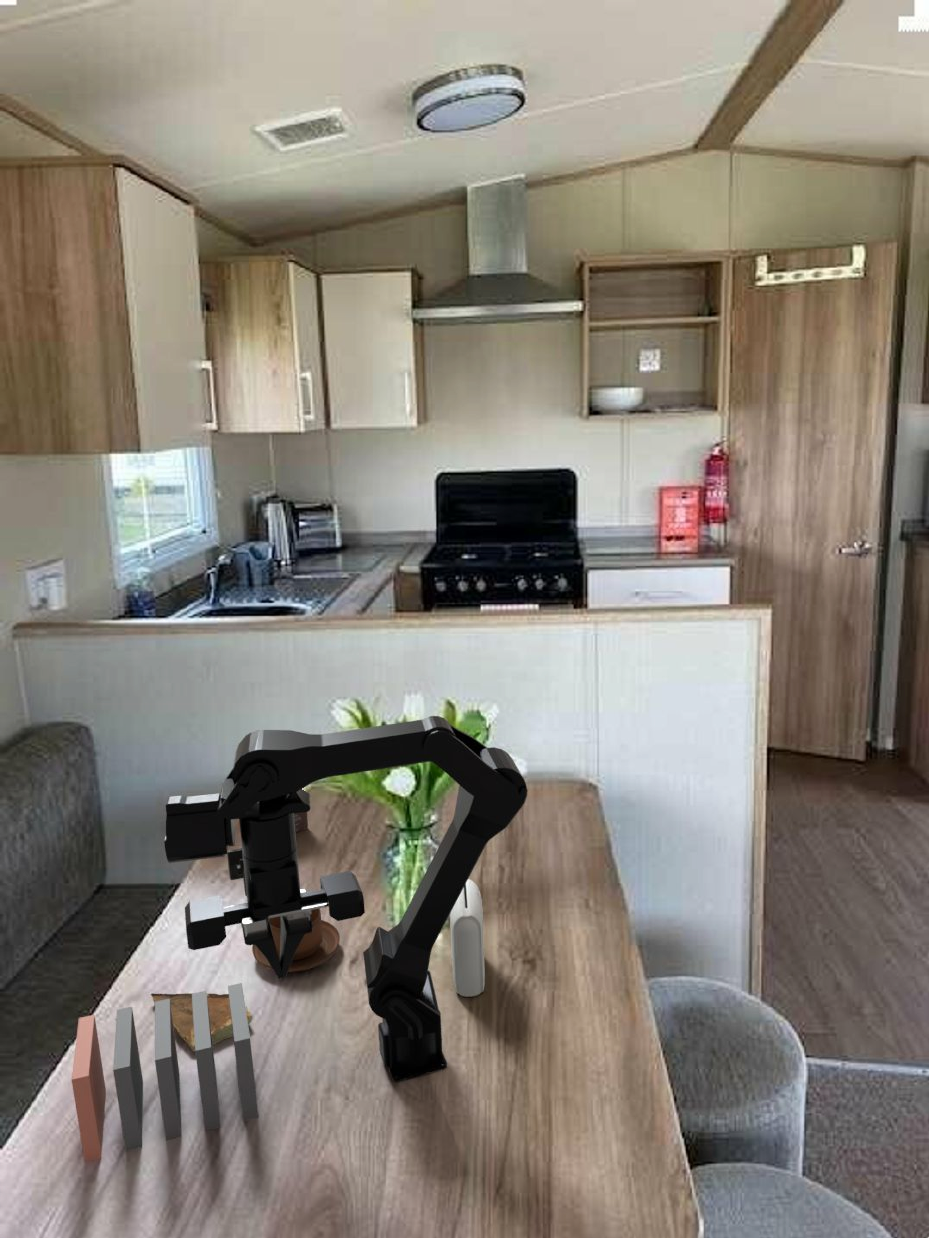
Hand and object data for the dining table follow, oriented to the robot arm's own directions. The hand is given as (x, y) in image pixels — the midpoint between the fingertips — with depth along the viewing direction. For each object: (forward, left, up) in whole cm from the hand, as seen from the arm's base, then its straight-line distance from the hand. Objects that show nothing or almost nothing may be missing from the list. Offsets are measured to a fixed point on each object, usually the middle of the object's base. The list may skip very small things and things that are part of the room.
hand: (281, 976), depth 104 cm
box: (-8, -62, -13) cm, 64 cm away
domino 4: (+9, 0, -13) cm, 16 cm away
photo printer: (-25, -11, -13) cm, 30 cm away
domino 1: (+21, 0, -13) cm, 25 cm away
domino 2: (+17, 0, -13) cm, 21 cm away
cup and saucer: (-4, -24, -13) cm, 28 cm away
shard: (+10, -13, -14) cm, 21 cm away
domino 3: (+13, 0, -13) cm, 18 cm away
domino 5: (+5, 0, -13) cm, 14 cm away
